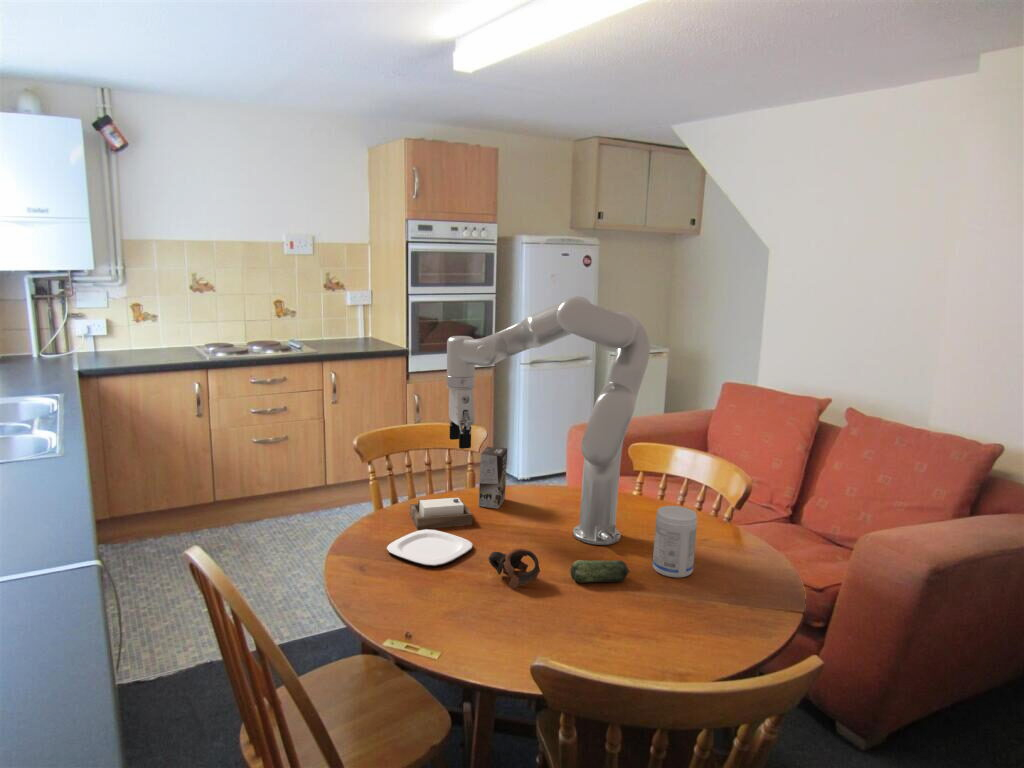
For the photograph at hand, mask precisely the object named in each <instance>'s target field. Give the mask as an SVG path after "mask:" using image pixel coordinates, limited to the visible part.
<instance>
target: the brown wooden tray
mask: <svg viewBox="0 0 1024 768" xmlns="http://www.w3.org/2000/svg"><path fill="white" fill-rule="evenodd" d="M420 500H421V499H418V500H417V503H413V504H412V503H411V504H409V516H410V515H411V516H410V517H412V518H411V519H413V520H412V521H414V522H413V523H414V525H415V527H416V530H418V529H419V530H425V529H428V530H430V529H429V528H431V529H440V528H441V527H443V528H450V527H451V528H452V526H455V527H464V525H467V526H473V513H472V512H471V511H470V509H469V508H468V507H467V505H466V504H465V502H464V501H463V500H460V501H461V502H462V503H463V505H464V512H463V514H456V515H443V516H430V517H421V516H420V514H419V507H420Z"/></svg>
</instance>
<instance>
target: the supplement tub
mask: <svg viewBox="0 0 1024 768" xmlns="http://www.w3.org/2000/svg"><path fill="white" fill-rule="evenodd" d="M697 528H698V514H697V512H695V511H694V510H692V509H690V508H688V507H684V506H680V505H679V506H678V505H666V506H661V507H659V508H658V509H657V511H656V516H655V528H654V541H653V542H654V543H653V555H652V556H653V557H652V568H653V569H654V570H655V572H657V573H658V574H660V575H663V576H665V577H669V578H679V579H680V578H686V577H688V576H690V575H691V574H692V573H693V571H694V562H695V551H696V543H697V541H696V539H697Z"/></svg>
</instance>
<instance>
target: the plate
mask: <svg viewBox="0 0 1024 768" xmlns="http://www.w3.org/2000/svg"><path fill="white" fill-rule="evenodd" d="M473 546H474V544H473V542H471V541H470V540H469V539H466V538H463V537H461V536H457V535H455V534H452V533H449V532H444V531H441V530H437V529H419V530H415V531H413V532H409V533H408V534H406V535H403V536H402V537H400V538H397V539H396V540H393V541H392V542H391V543H389V544H388V545H387V547H386V550H387V552H389V554H391V555H393V556H396V557H398V558H400V559H403V560H405V561H409V562H411V563H415V564H418V565H422V566H427V567H429V566H430V567H437V566H442V565H446V564H448V563H451V562H453V561H455V560H457V559H459V558H460V557H461V556H464V555H466V554H467V553H468V552H469V551H471V550H472V549H473Z"/></svg>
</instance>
